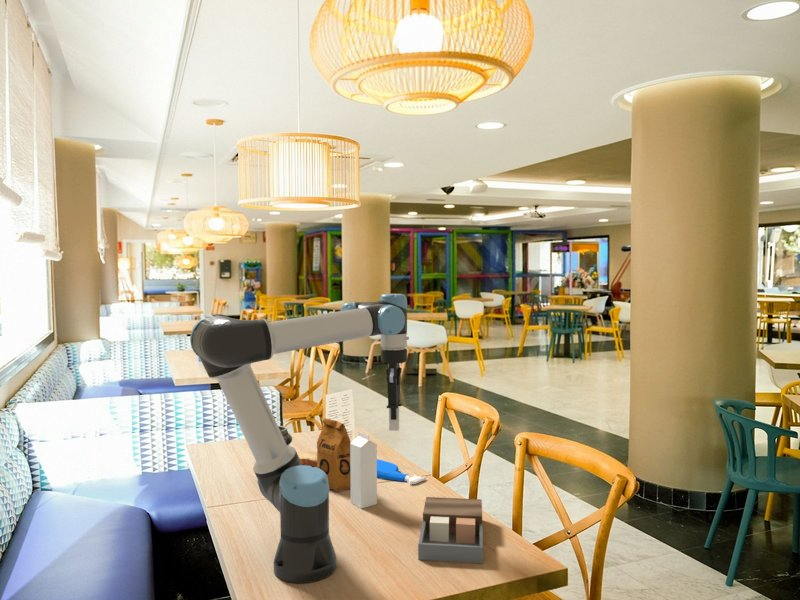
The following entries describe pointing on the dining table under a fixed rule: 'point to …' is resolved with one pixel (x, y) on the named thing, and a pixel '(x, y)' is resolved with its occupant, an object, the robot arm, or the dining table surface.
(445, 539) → the cream block
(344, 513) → the dining table surface
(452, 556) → the box
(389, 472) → the spray bottle
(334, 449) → the coffee package
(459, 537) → the salmon orange block
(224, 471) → the dining table surface
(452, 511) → the block
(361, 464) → the milk
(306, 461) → the bread slice
